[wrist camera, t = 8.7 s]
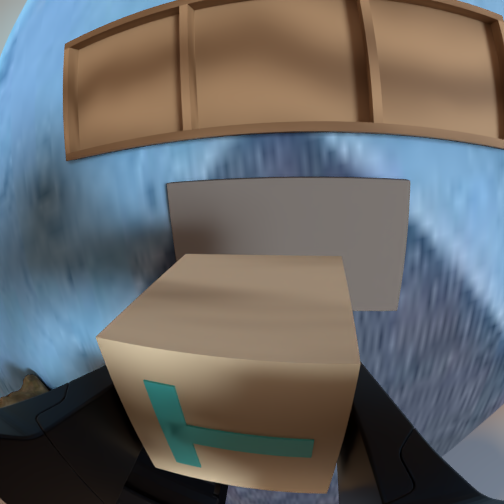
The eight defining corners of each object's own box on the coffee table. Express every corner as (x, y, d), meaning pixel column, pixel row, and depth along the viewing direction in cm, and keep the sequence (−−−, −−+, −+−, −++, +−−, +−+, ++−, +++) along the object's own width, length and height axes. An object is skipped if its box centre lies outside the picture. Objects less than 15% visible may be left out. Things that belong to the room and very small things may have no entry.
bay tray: (508, 150, 13) (520, 151, 12) (79, 158, 19) (66, 161, 18) (492, 22, 10) (502, 15, 9) (77, 47, 16) (64, 44, 15)
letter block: (330, 379, 11) (326, 494, 6) (204, 370, 12) (154, 468, 7) (341, 256, 9) (360, 365, 4) (185, 253, 10) (94, 338, 5)
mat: (395, 305, 18) (396, 310, 17) (186, 299, 21) (182, 303, 20) (407, 179, 15) (410, 180, 15) (171, 182, 18) (166, 183, 18)
